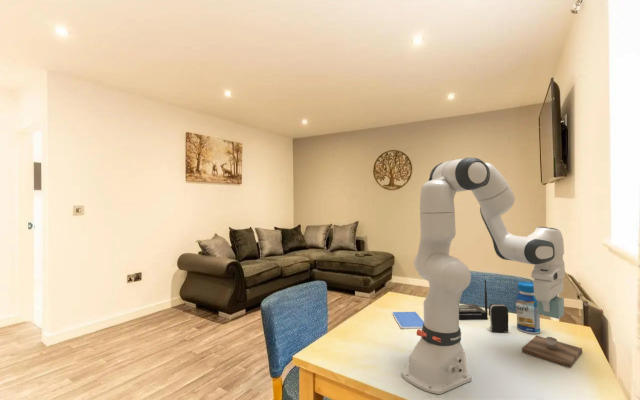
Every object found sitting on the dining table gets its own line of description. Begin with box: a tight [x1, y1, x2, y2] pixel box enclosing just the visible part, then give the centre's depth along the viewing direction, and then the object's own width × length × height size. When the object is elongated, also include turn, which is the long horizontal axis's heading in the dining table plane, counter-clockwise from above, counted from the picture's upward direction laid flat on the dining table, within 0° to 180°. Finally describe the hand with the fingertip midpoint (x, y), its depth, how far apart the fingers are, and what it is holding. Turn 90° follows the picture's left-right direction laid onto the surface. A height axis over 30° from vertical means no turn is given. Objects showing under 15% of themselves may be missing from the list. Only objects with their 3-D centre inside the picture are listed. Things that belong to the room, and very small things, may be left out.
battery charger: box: [488, 303, 509, 333], centre depth 128 cm, size 7×4×11 cm, turn 85°
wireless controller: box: [459, 279, 489, 321], centre depth 146 cm, size 20×14×17 cm
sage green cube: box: [537, 296, 565, 320], centre depth 109 cm, size 6×6×6 cm
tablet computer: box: [391, 311, 424, 330], centre depth 142 cm, size 19×13×1 cm, turn 179°
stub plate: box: [521, 335, 583, 369], centre depth 109 cm, size 16×14×5 cm
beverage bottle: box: [515, 281, 541, 335], centre depth 128 cm, size 8×8×20 cm
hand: (550, 308), depth 109 cm, fingers closed on sage green cube, 6 cm apart
